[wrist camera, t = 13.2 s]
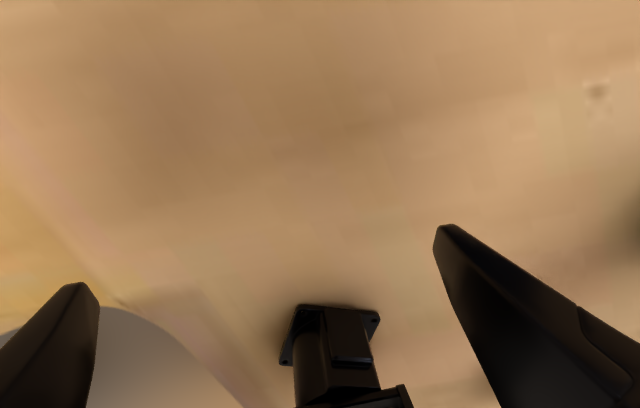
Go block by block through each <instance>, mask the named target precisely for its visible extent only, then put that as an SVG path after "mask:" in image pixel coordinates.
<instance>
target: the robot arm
mask: <svg viewBox="0 0 640 408" xmlns="http://www.w3.org/2000/svg"><path fill="white" fill-rule="evenodd" d="M433 254H434V257H435V260H436V263H437V266H438V269H439V271H440V274H441V277H442V280H443V283H444V286H445V288H446V291H447V294H448V297H449V299H450V302H451V305H452V307H453V309H454V311H455V313H456V315H457V317H458V319H459V321H460V324H461V326H462V328H463V330H464V332H465V334H466V336H467V338H468V340H469V342H470V344H471V346H472V348H473V350H474V352H475V354H476V356H477V359H478V361H479V363H480V365H481V367H482V369H483V371H484V373H485V375H486V377H487V379H488V381H489V383H490V385H491V387H492V389H493V391H494V393H495V396H496V398H497V400H498V402H499V404H500V406H501V408H640V343H638V342H636V341H634V340H633V339H631V338H629V337H628V336H626V335H624V334H623V333H621V332H619V331H617V330H616V329H614V328H613V327H611V326H610V325H608V324H606V323H605V322H603V321H602V320H600V319H598V318H597V317H595V316H594V315H592V314H591V313H589V312H588V311H586V310H585V309H583V308H582V307H580V306H577V305H576V304H575V303H574V302H572V301H571V300H569V299H568V298H566V297H565V296H563V295H562V294H560V293H559V292H557V291H555V290H554V289H552V288H551V287H549V286H548V285H546V284H545V283H543V282H542V281H540V280H539V279H537V278H536V277H534V276H533V275H531V274H530V273H528V272H527V271H525V270H524V269H522V268H520V267H519V266H517V265H516V264H514V263H513V262H511V261H510V260H508V259H507V258H505V257H504V256H502V255H501V254H499V253H498V252H496V251H495V250H493V249H492V248H490V247H489V246H487V245H485V244H484V243H482V242H481V241H479V240H478V239H476V238H475V237H473V236H472V235H470V234H469V233H467V232H466V231H464V230H463V229H461V228H460V227H458V226H457V225H455V224H446V225H440V226H439V227H438V228H437V231H436V235H435V239H434V243H433ZM302 311H304V312H302ZM99 314H100V306H99V302H98V300H97V299H96V297H95V296H94V295H93V293H92V292H91V290H90V289H89V287H88V286H87V285H86V284H85V283H83V282H78V283H71V284H66V285H64V286H63V287H61V288H60V289H59V290H58V291H57V292H56V293H55V294H54V295H53V296H52V297H51V298H50V299H49V300H48V301H47V302H46V303H45V304H44V305H43V306H42V307H41V308H40V310H39V311H38V312H37V313H36V314H35V315H34V316H33V317H32V318H31V319H30V320H29V321H28V322H27V323H26V324H25V325H24V326H23V327H22V328H21V329H20V330H19V331H18V332H17V333H16V334H15V335H14V336H13V337H12V338H11V339H10V340H9V341H8V342H7V343H6V344H5V345H4V346H3V347H2V348H1V349H0V408H86V404H87V399H88V395H89V390H90V386H91V381H92V376H93V370H94V364H95V355H96V345H97V335H98V325H99V324H98V323H99ZM380 320H381V319H380V316H379V314H378V313H377V312H371V311H362V310H352V309H342V308H333V307H323V306H314V305H299V306H297V307H296V309H295V312H294V315H293V318H292V320H291V323H290V326H289V329H288V332H287V335H286V338H285V341H284V344H283V346H282V349H281V352H280V355H279V364H280V365H282V366H293V375H294V389H295V403H296V407H295V408H414V407H413V404H412V402H411V399H410V397H409V395H408V392H407V390H406V387H405V385H404V384H401V385H396V387H394V388H389V389H384V390H381V387H380V383H379V380H378V376H377V372H376V369H375V365H374V359H373V355H372V352H371V348H370V344H369V342H370V340H371V338H372V336H373V334H374V332H375V330H376V328H377V326H378V324H379V322H380Z"/></svg>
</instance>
